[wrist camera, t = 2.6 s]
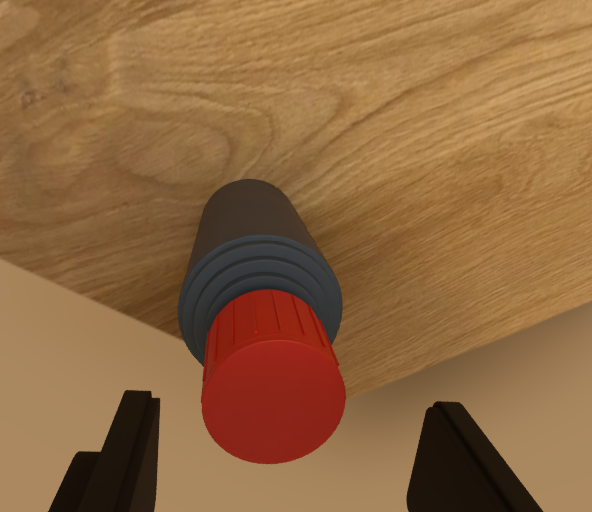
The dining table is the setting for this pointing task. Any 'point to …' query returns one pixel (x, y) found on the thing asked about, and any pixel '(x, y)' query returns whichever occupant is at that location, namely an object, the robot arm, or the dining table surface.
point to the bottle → (253, 260)
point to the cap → (270, 379)
